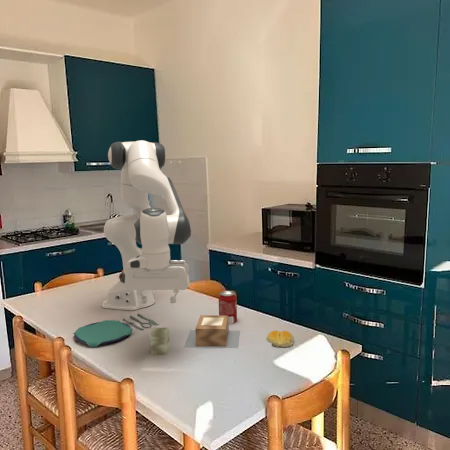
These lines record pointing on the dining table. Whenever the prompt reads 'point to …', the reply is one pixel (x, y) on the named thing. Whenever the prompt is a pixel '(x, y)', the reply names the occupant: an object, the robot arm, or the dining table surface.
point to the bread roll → (280, 338)
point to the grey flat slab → (231, 343)
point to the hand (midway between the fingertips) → (158, 302)
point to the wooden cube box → (212, 330)
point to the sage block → (160, 341)
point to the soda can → (228, 306)
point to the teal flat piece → (107, 331)
